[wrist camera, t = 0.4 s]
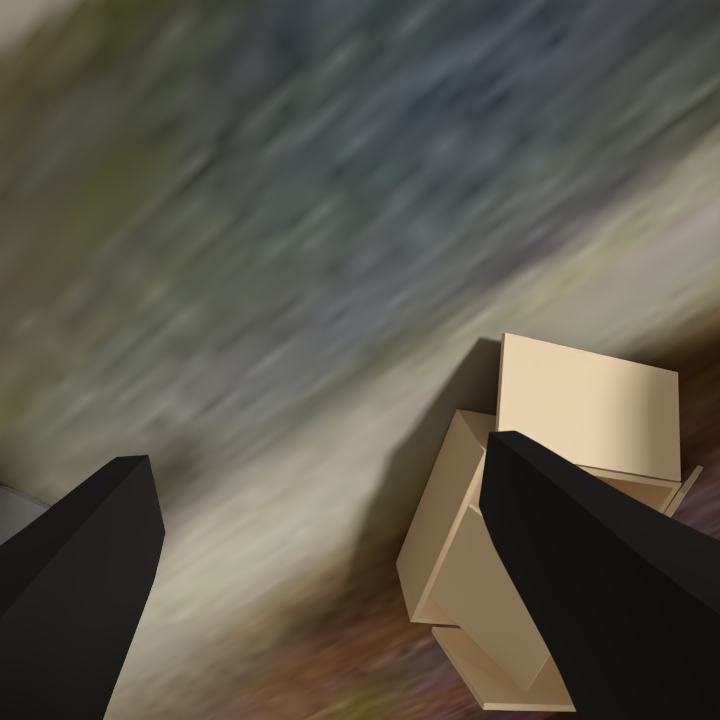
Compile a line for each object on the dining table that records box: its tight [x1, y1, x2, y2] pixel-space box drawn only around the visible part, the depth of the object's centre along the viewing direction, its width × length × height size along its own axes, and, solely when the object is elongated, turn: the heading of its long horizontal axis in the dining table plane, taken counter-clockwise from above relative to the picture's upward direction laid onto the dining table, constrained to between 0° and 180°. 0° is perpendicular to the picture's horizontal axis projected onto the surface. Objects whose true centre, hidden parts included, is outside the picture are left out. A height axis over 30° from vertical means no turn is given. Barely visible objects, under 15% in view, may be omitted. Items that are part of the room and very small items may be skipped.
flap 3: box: [495, 333, 681, 481], centre depth 19 cm, size 9×1×5 cm
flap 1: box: [429, 504, 550, 693], centre depth 18 cm, size 1×5×5 cm
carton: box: [396, 409, 682, 625], centre depth 22 cm, size 10×10×4 cm
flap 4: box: [664, 465, 703, 518], centre depth 24 cm, size 1×9×5 cm
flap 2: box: [432, 627, 576, 712], centre depth 20 cm, size 8×1×5 cm, turn 75°
